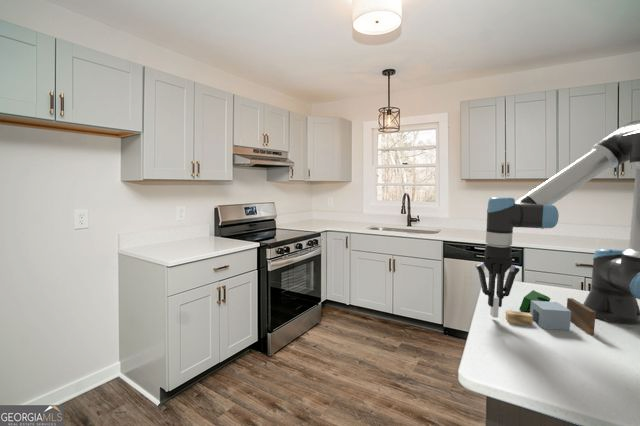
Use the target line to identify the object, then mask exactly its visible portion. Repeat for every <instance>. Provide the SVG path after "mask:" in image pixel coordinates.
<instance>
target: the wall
mask: <svg viewBox="0 0 640 426" xmlns="http://www.w3.org/2000/svg"><path fill="white" fill-rule="evenodd" d="M566 300H567V302H566V308H567V309H569V310H570V311H571V321H570V323H572V324H573V325H575V327H577V328H579V329H580V330H581V331H583V332H584V333H586V334H588V335H595V326H596V312H595V311H593V310H592V309H590V308H588V307H587V306H585V305H583V304H584V303H581V302H580V301H577V300H576V299H574V298H573V297H571V298H570V297H568V298H567V299H566Z"/></svg>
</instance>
